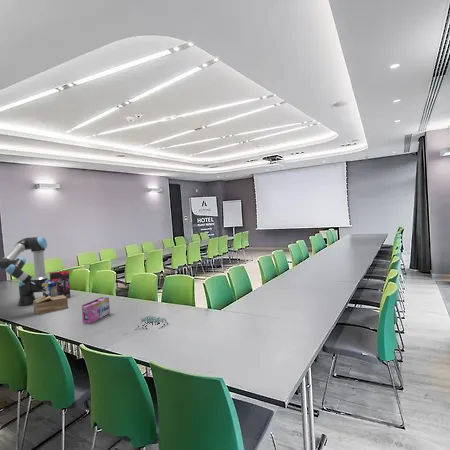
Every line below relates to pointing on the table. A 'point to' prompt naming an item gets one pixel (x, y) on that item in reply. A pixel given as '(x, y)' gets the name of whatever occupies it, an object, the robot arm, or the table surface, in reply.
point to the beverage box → (51, 288)
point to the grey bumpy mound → (152, 320)
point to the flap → (42, 297)
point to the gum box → (95, 310)
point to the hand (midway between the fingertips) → (48, 292)
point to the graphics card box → (61, 282)
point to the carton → (51, 305)
